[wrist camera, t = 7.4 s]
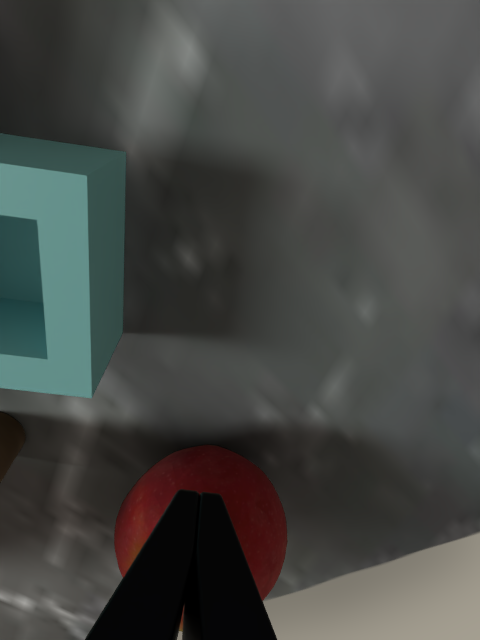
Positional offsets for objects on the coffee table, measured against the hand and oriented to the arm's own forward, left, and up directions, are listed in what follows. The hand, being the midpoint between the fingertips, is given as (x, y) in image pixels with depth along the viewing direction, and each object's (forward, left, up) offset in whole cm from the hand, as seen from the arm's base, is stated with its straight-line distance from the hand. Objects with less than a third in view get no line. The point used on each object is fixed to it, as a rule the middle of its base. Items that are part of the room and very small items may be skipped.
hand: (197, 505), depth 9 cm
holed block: (0, +8, -12) cm, 15 cm away
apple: (-12, -1, -12) cm, 17 cm away
